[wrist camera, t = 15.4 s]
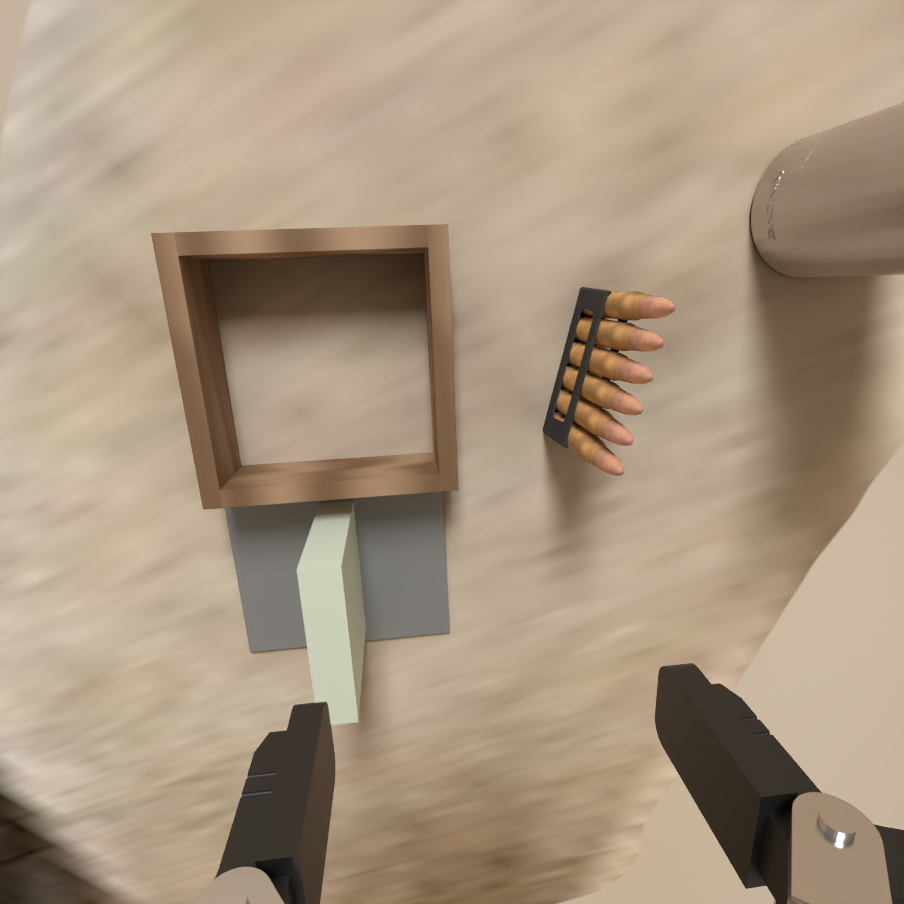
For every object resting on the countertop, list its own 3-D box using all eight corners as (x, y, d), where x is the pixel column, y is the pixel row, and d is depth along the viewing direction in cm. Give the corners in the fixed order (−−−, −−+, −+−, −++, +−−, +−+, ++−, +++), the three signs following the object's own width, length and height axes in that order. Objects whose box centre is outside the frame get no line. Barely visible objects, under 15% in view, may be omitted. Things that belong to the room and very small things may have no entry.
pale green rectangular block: (353, 500, 40) (341, 565, 31) (365, 627, 43) (358, 722, 34) (319, 503, 40) (296, 570, 30) (334, 630, 43) (318, 726, 33)
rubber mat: (442, 483, 41) (442, 484, 40) (448, 630, 45) (449, 632, 44) (225, 499, 39) (223, 501, 39) (251, 650, 43) (250, 652, 43)
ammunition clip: (565, 435, 41) (632, 492, 29) (542, 431, 40) (601, 486, 29) (605, 292, 38) (696, 293, 27) (580, 286, 38) (662, 284, 26)
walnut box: (440, 233, 36) (448, 224, 31) (450, 466, 40) (458, 490, 36) (184, 241, 34) (151, 233, 29) (226, 482, 39) (203, 509, 34)
